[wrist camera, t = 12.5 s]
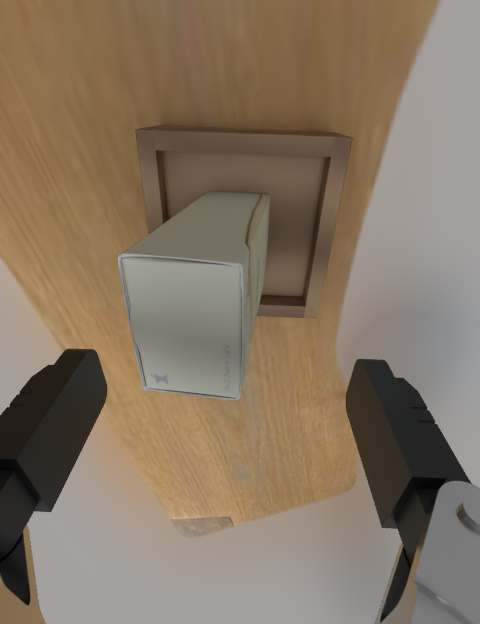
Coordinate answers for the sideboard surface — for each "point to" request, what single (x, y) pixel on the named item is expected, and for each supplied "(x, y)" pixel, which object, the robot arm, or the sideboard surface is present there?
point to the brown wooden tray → (256, 180)
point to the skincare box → (198, 294)
